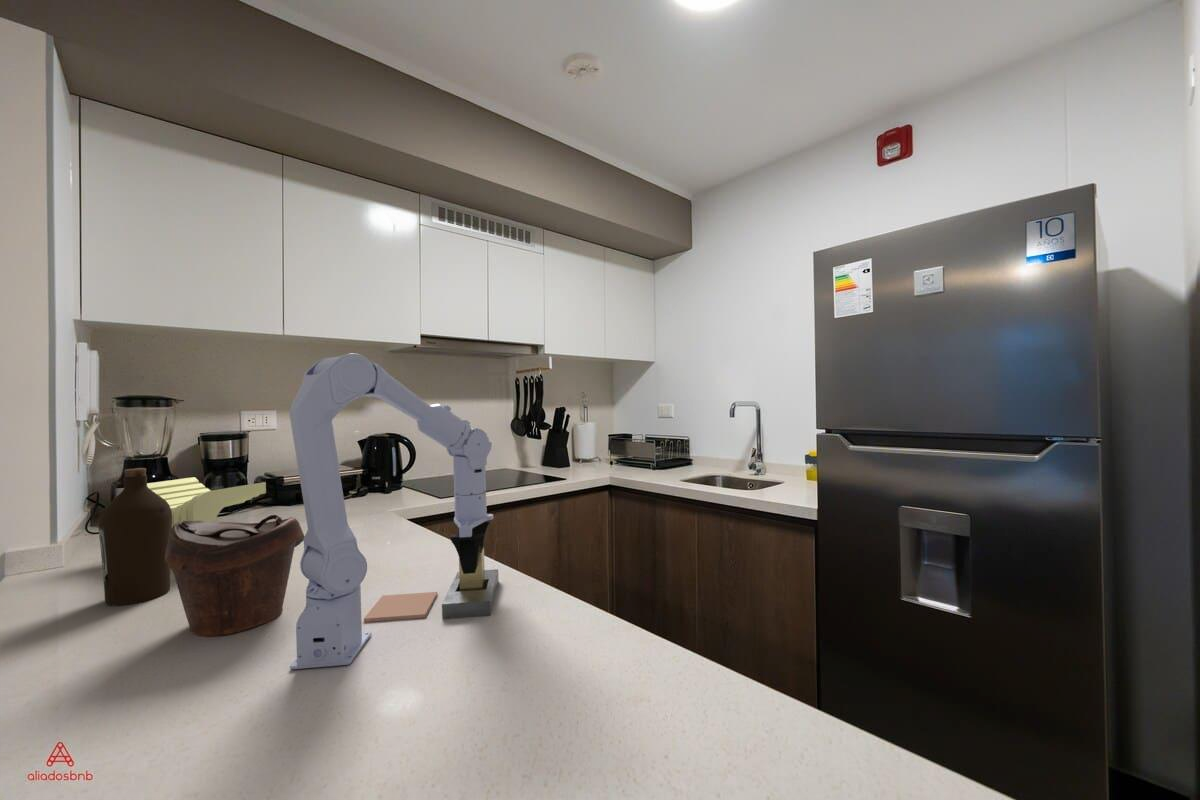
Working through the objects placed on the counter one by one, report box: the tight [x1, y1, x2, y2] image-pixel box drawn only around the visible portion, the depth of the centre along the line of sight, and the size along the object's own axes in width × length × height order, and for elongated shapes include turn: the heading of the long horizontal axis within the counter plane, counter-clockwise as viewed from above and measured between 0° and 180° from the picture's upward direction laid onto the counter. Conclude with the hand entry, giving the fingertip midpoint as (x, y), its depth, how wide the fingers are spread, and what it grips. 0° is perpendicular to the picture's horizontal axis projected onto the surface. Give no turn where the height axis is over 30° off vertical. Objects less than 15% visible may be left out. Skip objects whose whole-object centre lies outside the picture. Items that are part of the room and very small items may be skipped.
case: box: [165, 514, 305, 637], centre depth 87 cm, size 18×20×18 cm
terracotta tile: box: [363, 591, 438, 623], centre depth 90 cm, size 10×10×1 cm
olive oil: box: [97, 467, 172, 606], centre depth 98 cm, size 11×11×25 cm
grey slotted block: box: [441, 569, 500, 620], centre depth 93 cm, size 16×8×2 cm, turn 7°
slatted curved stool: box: [147, 476, 267, 527], centre depth 124 cm, size 30×16×18 cm, turn 66°
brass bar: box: [458, 546, 486, 591], centre depth 93 cm, size 4×4×9 cm
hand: (472, 565), depth 93 cm, fingers open, 7 cm apart
